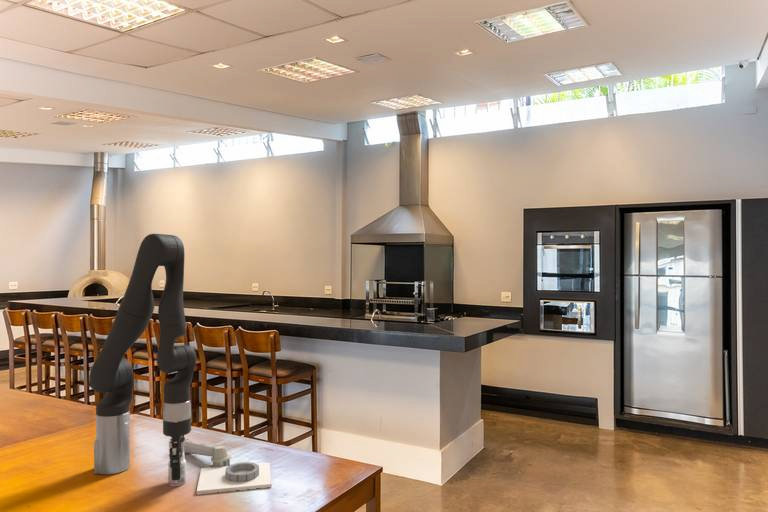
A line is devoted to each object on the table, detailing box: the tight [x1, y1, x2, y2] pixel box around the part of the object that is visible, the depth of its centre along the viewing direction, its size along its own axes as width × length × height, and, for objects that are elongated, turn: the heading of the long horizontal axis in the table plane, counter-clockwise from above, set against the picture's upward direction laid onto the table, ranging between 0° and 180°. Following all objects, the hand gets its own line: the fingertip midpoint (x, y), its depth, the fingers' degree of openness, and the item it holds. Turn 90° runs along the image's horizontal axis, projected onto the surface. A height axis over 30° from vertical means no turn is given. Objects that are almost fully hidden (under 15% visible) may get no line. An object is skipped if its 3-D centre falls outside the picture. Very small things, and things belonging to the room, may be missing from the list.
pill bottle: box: [167, 452, 187, 487], centre depth 161 cm, size 5×5×8 cm
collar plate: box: [196, 461, 273, 495], centre depth 164 cm, size 20×16×3 cm
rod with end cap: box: [184, 438, 232, 467], centre depth 180 cm, size 5×7×25 cm
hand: (177, 475), depth 161 cm, fingers closed on pill bottle, 4 cm apart
